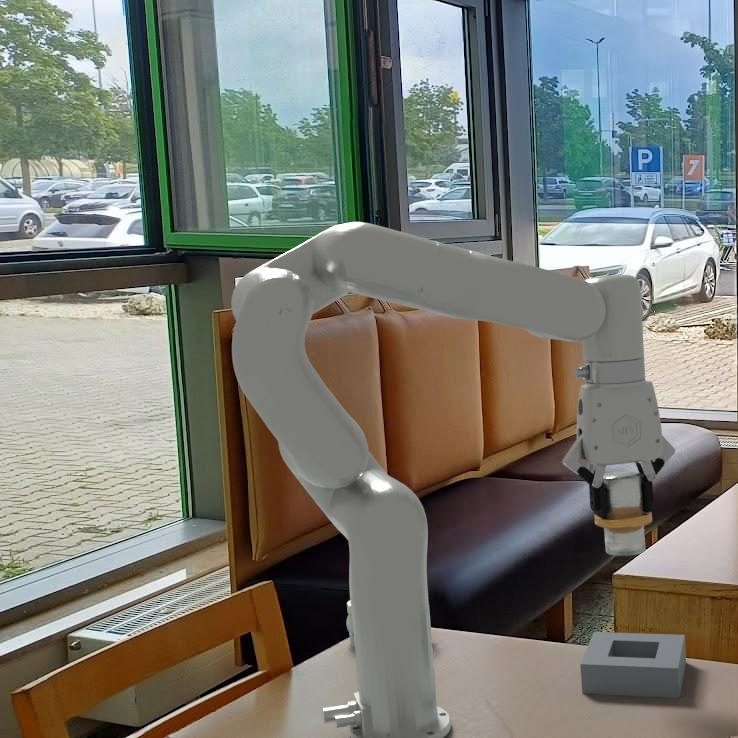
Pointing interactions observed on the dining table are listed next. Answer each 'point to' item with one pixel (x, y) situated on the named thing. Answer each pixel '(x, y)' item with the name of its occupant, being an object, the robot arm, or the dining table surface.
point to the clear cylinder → (624, 514)
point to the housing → (634, 664)
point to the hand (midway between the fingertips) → (622, 511)
